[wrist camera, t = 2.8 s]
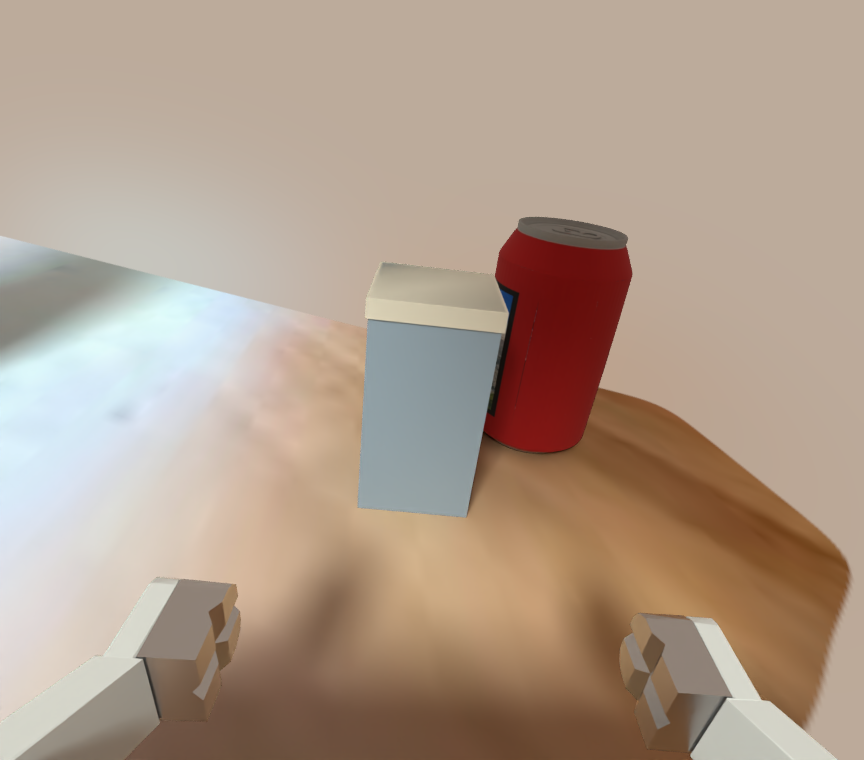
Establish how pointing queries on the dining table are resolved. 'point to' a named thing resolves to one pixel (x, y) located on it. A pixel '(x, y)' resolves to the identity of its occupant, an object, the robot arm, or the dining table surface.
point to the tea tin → (427, 386)
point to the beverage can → (554, 330)
